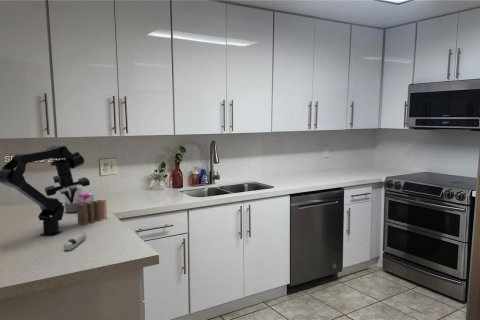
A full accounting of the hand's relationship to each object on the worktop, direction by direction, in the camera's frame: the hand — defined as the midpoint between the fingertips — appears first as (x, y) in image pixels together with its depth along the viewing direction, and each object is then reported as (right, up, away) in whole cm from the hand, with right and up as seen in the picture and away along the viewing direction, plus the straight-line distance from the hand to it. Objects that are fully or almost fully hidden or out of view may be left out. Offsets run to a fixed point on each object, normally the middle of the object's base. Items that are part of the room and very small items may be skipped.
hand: (71, 203), depth 172 cm
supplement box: (-3, -9, +24) cm, 26 cm away
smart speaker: (-13, -9, +31) cm, 35 cm away
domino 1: (+3, -11, +6) cm, 13 cm away
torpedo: (+13, -14, -24) cm, 31 cm away
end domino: (+8, -10, +16) cm, 21 cm away
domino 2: (+5, -11, +9) cm, 15 cm away
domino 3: (+7, -10, +13) cm, 18 cm away
